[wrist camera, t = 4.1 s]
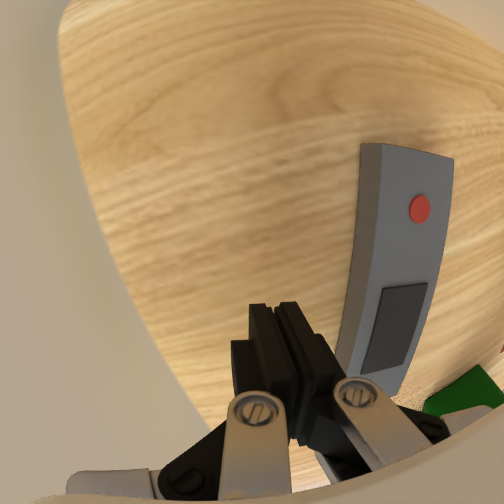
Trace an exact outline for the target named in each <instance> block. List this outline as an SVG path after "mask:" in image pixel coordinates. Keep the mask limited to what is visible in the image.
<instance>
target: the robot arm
mask: <svg viewBox="0 0 504 504" xmlns="http://www.w3.org/2000/svg"><path fill="white" fill-rule="evenodd" d="M231 364H232V377H233V386H234V394H235V397H234V399H233V400H232V401H231V402H230V404H229V407H228V412H227V419H226V420H225V421H224V422H223V423H222V424H220V425H219V426H218V427H217V428H215V429H214V430H213V431H212V432H210V433H209V434H208V435H207V436H205V437H204V438H203V439H201V440H200V441H199V442H198V443H196V444H195V445H194V446H192V447H191V448H190V449H188V450H187V451H186V452H184V453H183V454H181V455H180V456H179V457H177V458H176V459H175V460H173V461H172V462H170V463H169V464H167V465H166V466H165V467H164V468H163V469H162V470H154V471H149V469H148V468H146V469H133V470H115V471H114V470H112V471H80V472H76V473H75V474H73V475H71V477H70V478H69V479H68V480H67V485H66V494H63V495H53V496H48V497H43V498H40V499H37V500H35V501H33V502H31V503H30V504H504V403H503V404H502V405H500V406H499V407H497V408H495V409H492V408H491V407H489V406H486V405H479V406H475V407H472V408H468V409H465V410H461V411H457V412H453V413H449V414H445V415H442V416H441V417H440V418H439V417H436V416H434V415H431V414H427V413H423V412H420V411H416V410H413V409H409V408H406V407H402V406H399V405H396V404H395V403H394V402H393V401H392V400H391V399H390V398H389V397H388V395H387V394H386V393H385V392H384V391H383V390H382V389H381V388H380V387H379V386H378V385H377V384H376V383H375V382H373V381H372V380H369V379H367V378H363V377H348V378H347V376H346V374H345V373H344V371H343V369H342V368H341V366H340V364H339V363H338V361H337V359H336V357H335V356H334V354H333V352H332V351H331V349H330V347H329V346H328V344H327V342H326V341H325V339H324V337H323V336H322V335H321V334H319V333H318V334H314V332H313V330H312V329H311V327H310V325H309V323H308V322H307V320H306V318H305V316H304V315H303V313H302V311H301V309H300V308H299V306H298V304H297V302H296V301H294V302H281V303H280V305H279V306H277V307H275V308H274V313H273V310H272V308H271V307H266V304H265V303H261V304H249V340H232V341H231ZM290 438H292V439H297V441H298V444H299V447H300V446H306V445H307V447H308V448H310V449H312V450H315V456H316V458H317V460H318V462H319V464H320V465H321V467H322V469H323V470H324V472H325V474H326V476H327V477H328V479H329V481H330V482H331V485H327V486H323V487H319V488H315V489H310V490H305V491H300V492H295V493H292V486H291V473H290V461H289V448H288V447H289V443H290Z"/></svg>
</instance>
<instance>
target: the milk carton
mask: <svg viewBox="0 0 504 504" xmlns="http://www.w3.org/2000/svg"><path fill="white" fill-rule="evenodd" d="M503 403H504V393H503V392H502V391H501V390H500V388H499V387H498V386H497V385H496V384H495V382H494V381H493V380H492V379H491V378H490V376H489V375H488V374H487V373H486V372H485V371H484V370H483V368H482V367H481V366H480V365H479V364H478V365H477V366H476V367H474V368H473V369H472V370H470V371H469V372H468V373H466V374H465V375H464V376H462V377H461V378H459V379H458V380H457V381H455V382H454V383H452V384H451V385H449V386H448V387H446V388H445V389H443V390H442V391H440V392H439V393H437V394H435V395H434V396H432V397H431V398H429V399H427V400H426V401H425V404H424V408H423V411H422V412H423V413H427V414H431V415H434V416H436V417H439V418H440V417H441V416H442V415H445V414H449V413H453V412H457V411H461V410H465V409H468V408H472V407H475V406H479V405H486V406H489V407H491V408H492V409H495V408H497V407H499V406H500V405H502V404H503Z"/></svg>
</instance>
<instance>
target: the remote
mask: <svg viewBox="0 0 504 504" xmlns="http://www.w3.org/2000/svg"><path fill="white" fill-rule="evenodd" d="M453 173H454V159H452V158H448V157H445V156H441V155H437V154H433V153H428V152H424V151H420V150H415V149H410V148H405V147H400V146H395V145H390V144H384V143H373V144H361V158H360V180H359V195H358V208H357V219H356V229H355V239H354V247H353V255H352V263H351V270H350V277H349V284H348V290H347V296H346V302H345V308H344V314H343V319H342V324H341V329H340V334H339V339H338V344H337V349H336V353H335V357H336V359H337V361H338V363H339V364H340V366H341V368H342V369H343V371H344V373H345V374H346V376H347V378H348V377H363V378H367V379H369V380H372V381H373V382H375V383H376V384H377V385H378V386H379V387H380V388H381V389H382V390H383V391H384V392H385V393H386V394H387V395H388V397H392V396H395V395H397V393H398V391H399V389H400V387H401V384H402V382H403V380H404V377H405V375H406V373H407V370H408V368H409V365H410V363H411V360H412V358H413V355H414V353H415V350H416V347H417V345H418V342H419V339H420V336H421V333H422V330H423V327H424V324H425V321H426V318H427V315H428V311H429V308H430V305H431V301H432V298H433V294H434V290H435V286H436V282H437V278H438V274H439V270H440V265H441V261H442V256H443V251H444V246H445V240H446V234H447V228H448V221H449V214H450V206H451V197H452V187H453Z"/></svg>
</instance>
